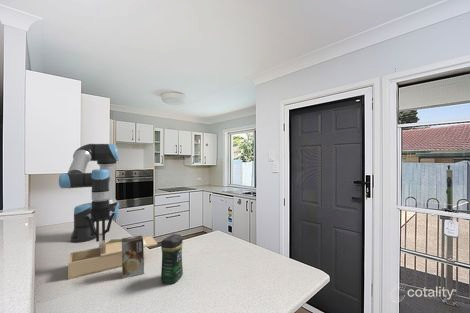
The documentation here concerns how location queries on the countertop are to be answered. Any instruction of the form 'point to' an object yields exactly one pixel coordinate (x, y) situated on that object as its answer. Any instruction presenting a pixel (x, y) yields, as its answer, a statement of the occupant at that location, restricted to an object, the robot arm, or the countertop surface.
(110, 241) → the carton
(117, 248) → the lid
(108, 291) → the countertop surface
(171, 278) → the coffee jar
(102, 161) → the robot arm
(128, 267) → the coffee box
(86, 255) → the box
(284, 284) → the countertop surface
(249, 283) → the countertop surface
